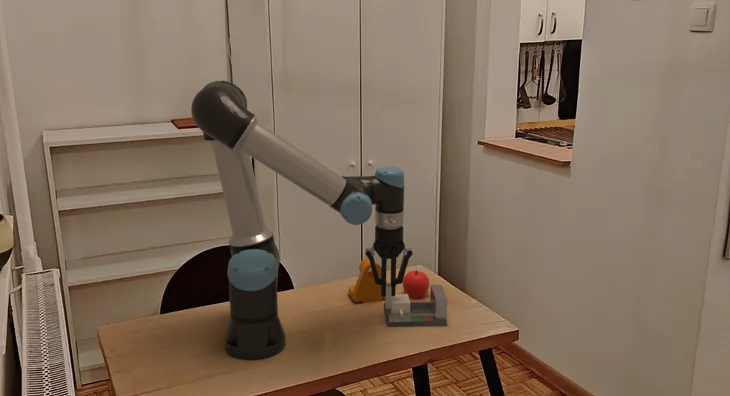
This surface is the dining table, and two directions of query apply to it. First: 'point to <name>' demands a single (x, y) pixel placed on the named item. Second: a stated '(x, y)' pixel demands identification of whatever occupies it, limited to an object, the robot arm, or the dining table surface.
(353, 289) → the bracket
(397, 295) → the cream block with peg
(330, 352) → the dining table surface
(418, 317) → the gauge base
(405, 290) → the apple
